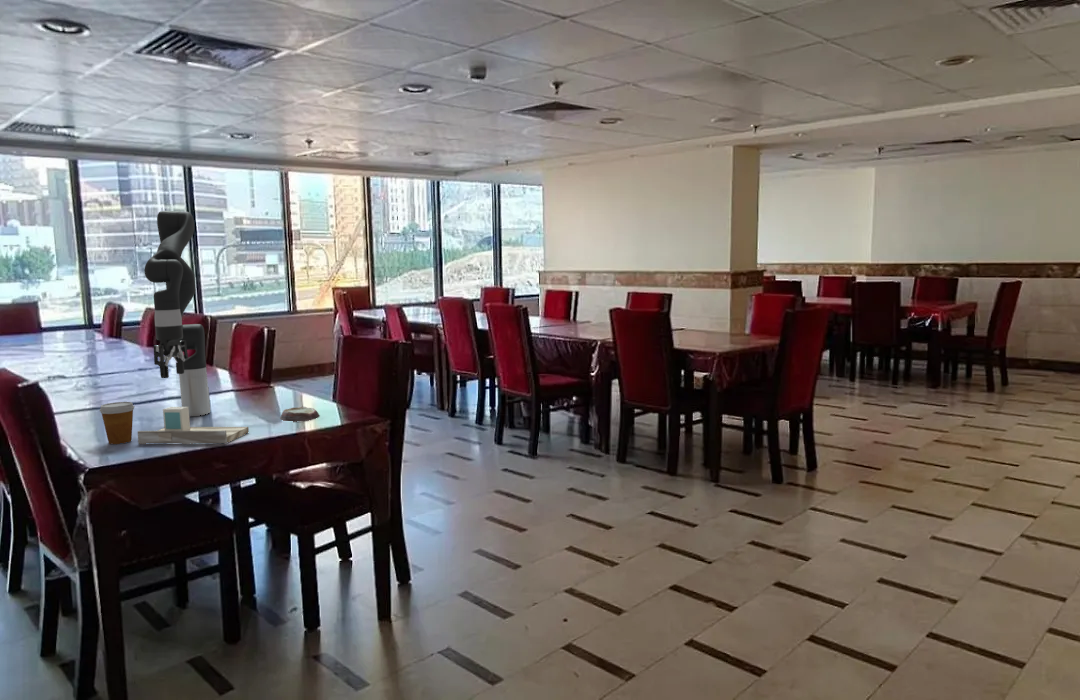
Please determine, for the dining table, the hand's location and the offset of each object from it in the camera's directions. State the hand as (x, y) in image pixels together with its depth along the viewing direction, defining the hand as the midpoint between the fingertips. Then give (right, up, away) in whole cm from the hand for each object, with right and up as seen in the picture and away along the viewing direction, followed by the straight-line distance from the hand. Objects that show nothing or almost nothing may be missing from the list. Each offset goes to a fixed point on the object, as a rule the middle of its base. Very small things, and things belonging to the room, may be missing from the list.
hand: (172, 375), depth 233 cm
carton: (+1, -18, +2) cm, 18 cm away
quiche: (+29, -17, +31) cm, 46 cm away
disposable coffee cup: (-17, -21, 0) cm, 27 cm away
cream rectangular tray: (+6, -20, +3) cm, 21 cm away
